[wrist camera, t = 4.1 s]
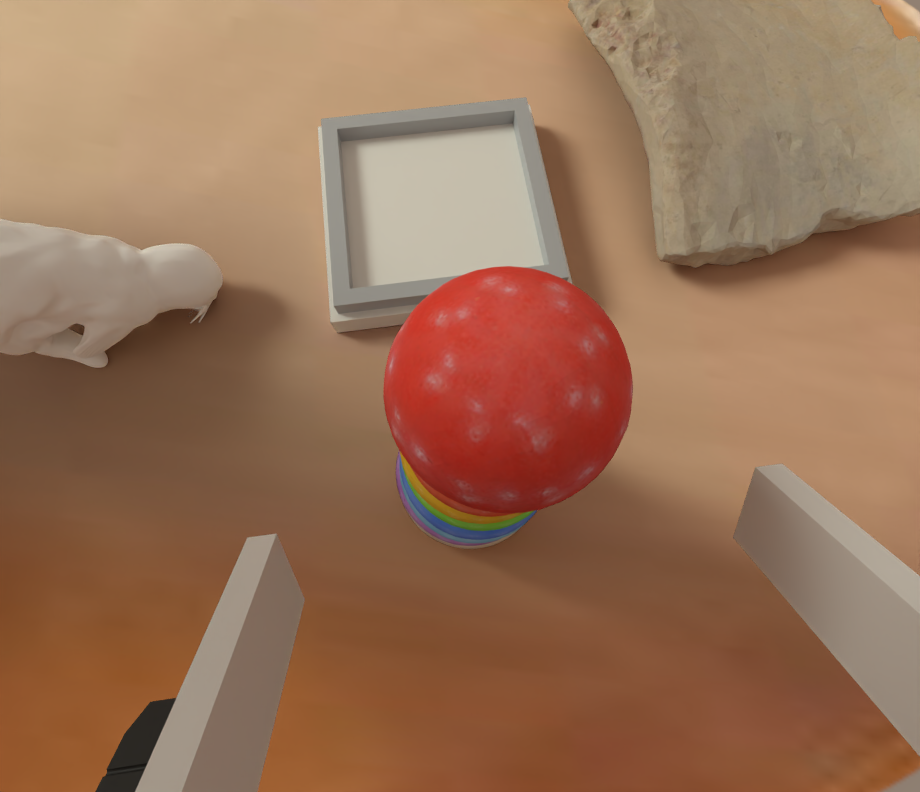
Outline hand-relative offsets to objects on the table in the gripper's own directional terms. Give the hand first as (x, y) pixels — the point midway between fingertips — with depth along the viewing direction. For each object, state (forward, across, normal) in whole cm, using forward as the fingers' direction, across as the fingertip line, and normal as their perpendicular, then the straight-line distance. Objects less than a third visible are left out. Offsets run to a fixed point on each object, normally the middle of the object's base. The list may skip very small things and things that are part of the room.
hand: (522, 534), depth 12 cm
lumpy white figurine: (+20, -20, +2) cm, 28 cm away
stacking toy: (+11, -1, -7) cm, 13 cm away
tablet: (+28, +22, +9) cm, 37 cm away
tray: (+23, 0, +6) cm, 24 cm away
